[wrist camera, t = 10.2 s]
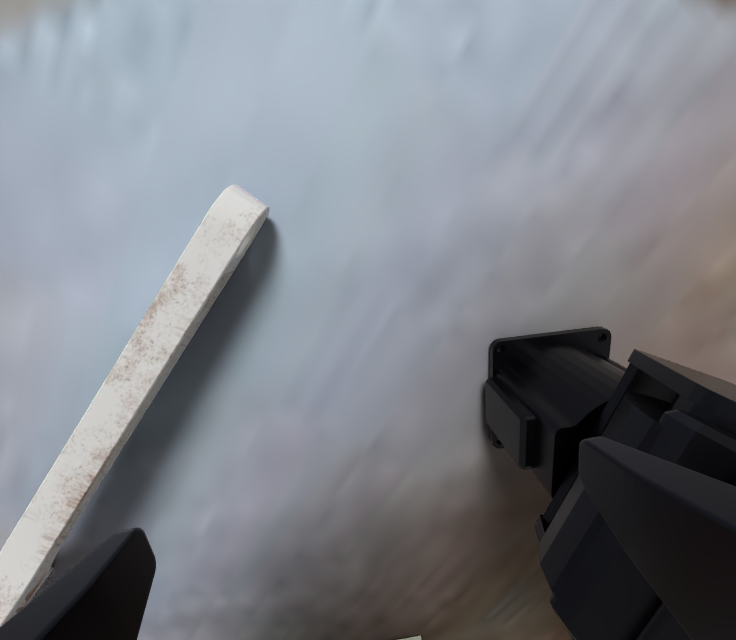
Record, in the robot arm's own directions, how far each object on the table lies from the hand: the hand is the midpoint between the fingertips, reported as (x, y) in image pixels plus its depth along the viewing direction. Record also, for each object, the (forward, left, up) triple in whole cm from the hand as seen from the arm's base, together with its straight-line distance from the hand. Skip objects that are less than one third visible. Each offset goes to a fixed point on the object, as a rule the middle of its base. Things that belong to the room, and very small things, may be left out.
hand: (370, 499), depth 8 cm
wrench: (+13, +5, -12) cm, 19 cm away
